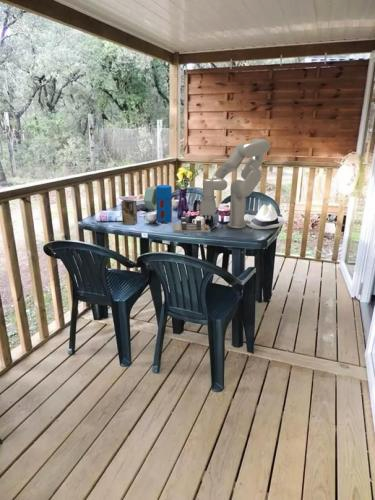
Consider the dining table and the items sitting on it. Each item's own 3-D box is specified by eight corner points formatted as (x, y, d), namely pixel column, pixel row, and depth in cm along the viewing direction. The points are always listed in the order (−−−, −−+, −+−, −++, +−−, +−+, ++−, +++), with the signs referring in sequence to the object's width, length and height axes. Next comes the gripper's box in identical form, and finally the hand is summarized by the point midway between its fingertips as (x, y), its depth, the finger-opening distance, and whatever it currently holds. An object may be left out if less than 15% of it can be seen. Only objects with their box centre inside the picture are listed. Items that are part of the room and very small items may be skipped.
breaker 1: (185, 223, 243) (185, 217, 241) (185, 224, 240) (185, 218, 239) (181, 223, 242) (181, 217, 241) (181, 224, 240) (181, 218, 239)
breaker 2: (186, 228, 231) (186, 222, 230) (186, 229, 229) (186, 223, 228) (181, 228, 231) (181, 222, 230) (181, 229, 229) (182, 223, 228)
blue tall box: (169, 223, 248) (169, 188, 240) (155, 222, 250) (154, 187, 242) (173, 219, 258) (173, 185, 250) (159, 218, 260) (158, 184, 252)
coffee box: (137, 222, 249) (137, 200, 244) (134, 225, 243) (133, 202, 238) (125, 221, 251) (124, 199, 246) (122, 224, 245) (120, 201, 240)
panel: (207, 225, 245) (207, 222, 244) (210, 232, 230) (210, 229, 229) (173, 225, 244) (173, 223, 243) (173, 232, 229) (173, 230, 228)
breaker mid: (200, 225, 238) (200, 219, 236) (201, 226, 235) (201, 220, 234) (196, 225, 237) (196, 219, 236) (196, 226, 235) (196, 220, 234)
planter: (157, 214, 287) (149, 196, 272) (149, 213, 291) (140, 195, 275) (166, 200, 295) (159, 181, 280) (159, 199, 299) (150, 180, 284)
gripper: (218, 196, 234) (217, 223, 240) (196, 196, 233) (195, 223, 240) (220, 199, 227) (219, 226, 233) (197, 199, 226) (196, 226, 233)
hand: (207, 224), depth 236 cm, fingers closed
